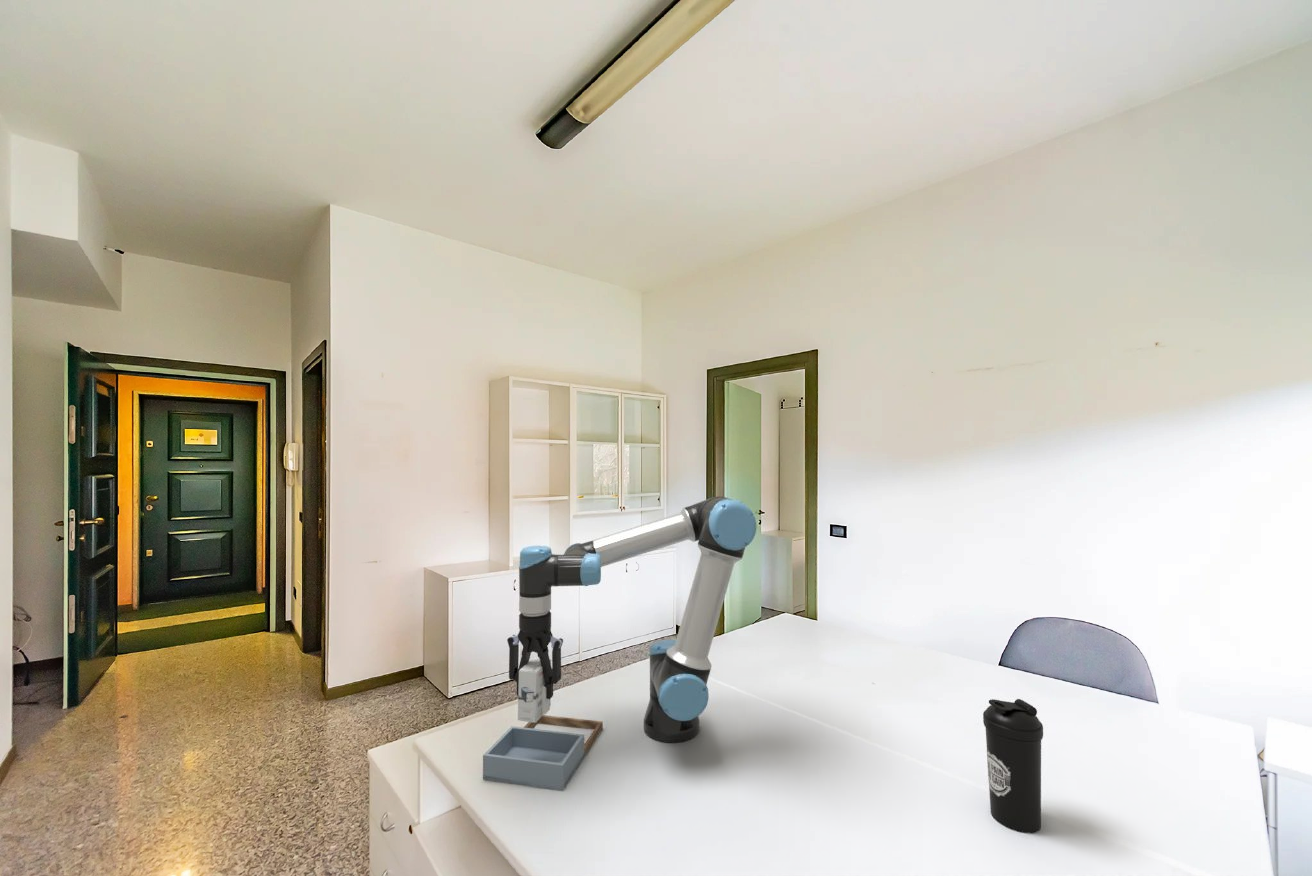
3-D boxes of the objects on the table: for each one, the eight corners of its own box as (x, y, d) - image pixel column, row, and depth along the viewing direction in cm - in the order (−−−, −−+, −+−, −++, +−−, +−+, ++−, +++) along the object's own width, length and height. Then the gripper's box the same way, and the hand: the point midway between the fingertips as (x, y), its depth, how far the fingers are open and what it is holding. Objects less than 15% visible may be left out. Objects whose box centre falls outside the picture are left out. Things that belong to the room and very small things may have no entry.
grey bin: (584, 757, 132) (584, 734, 133) (562, 790, 119) (562, 765, 119) (511, 748, 137) (511, 726, 137) (482, 779, 123) (482, 755, 124)
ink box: (533, 704, 133) (533, 656, 133) (552, 706, 132) (552, 657, 132) (517, 721, 125) (517, 670, 125) (537, 723, 124) (537, 671, 124)
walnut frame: (602, 728, 146) (602, 721, 146) (585, 756, 133) (585, 748, 133) (535, 721, 150) (535, 714, 150) (512, 747, 137) (512, 739, 137)
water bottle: (974, 804, 113) (971, 693, 114) (1020, 801, 114) (1016, 691, 115) (1010, 838, 103) (1006, 716, 104) (1059, 834, 104) (1055, 713, 105)
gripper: (576, 609, 131) (576, 707, 130) (508, 605, 135) (508, 699, 134) (564, 618, 123) (564, 722, 123) (493, 614, 127) (492, 713, 127)
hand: (534, 710), depth 128 cm, fingers closed on ink box, 5 cm apart
